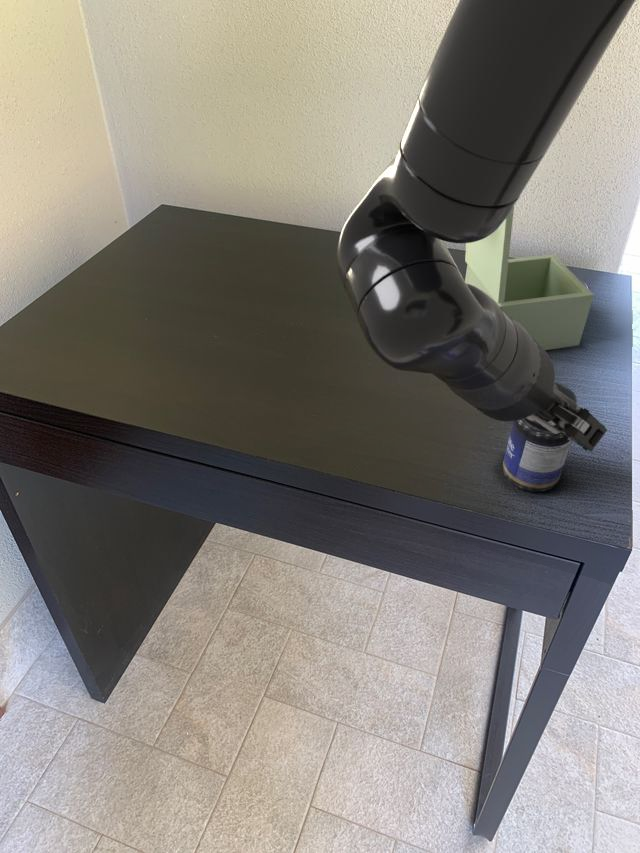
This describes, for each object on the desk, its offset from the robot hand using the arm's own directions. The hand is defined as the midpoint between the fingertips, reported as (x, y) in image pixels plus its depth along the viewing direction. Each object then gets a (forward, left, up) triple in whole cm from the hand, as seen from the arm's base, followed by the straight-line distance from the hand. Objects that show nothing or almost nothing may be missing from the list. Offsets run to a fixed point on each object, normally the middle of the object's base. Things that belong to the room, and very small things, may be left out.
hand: (550, 414), depth 70 cm
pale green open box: (+12, -26, -8) cm, 29 cm away
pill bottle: (0, +1, -8) cm, 8 cm away
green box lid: (+16, -21, +7) cm, 28 cm away
